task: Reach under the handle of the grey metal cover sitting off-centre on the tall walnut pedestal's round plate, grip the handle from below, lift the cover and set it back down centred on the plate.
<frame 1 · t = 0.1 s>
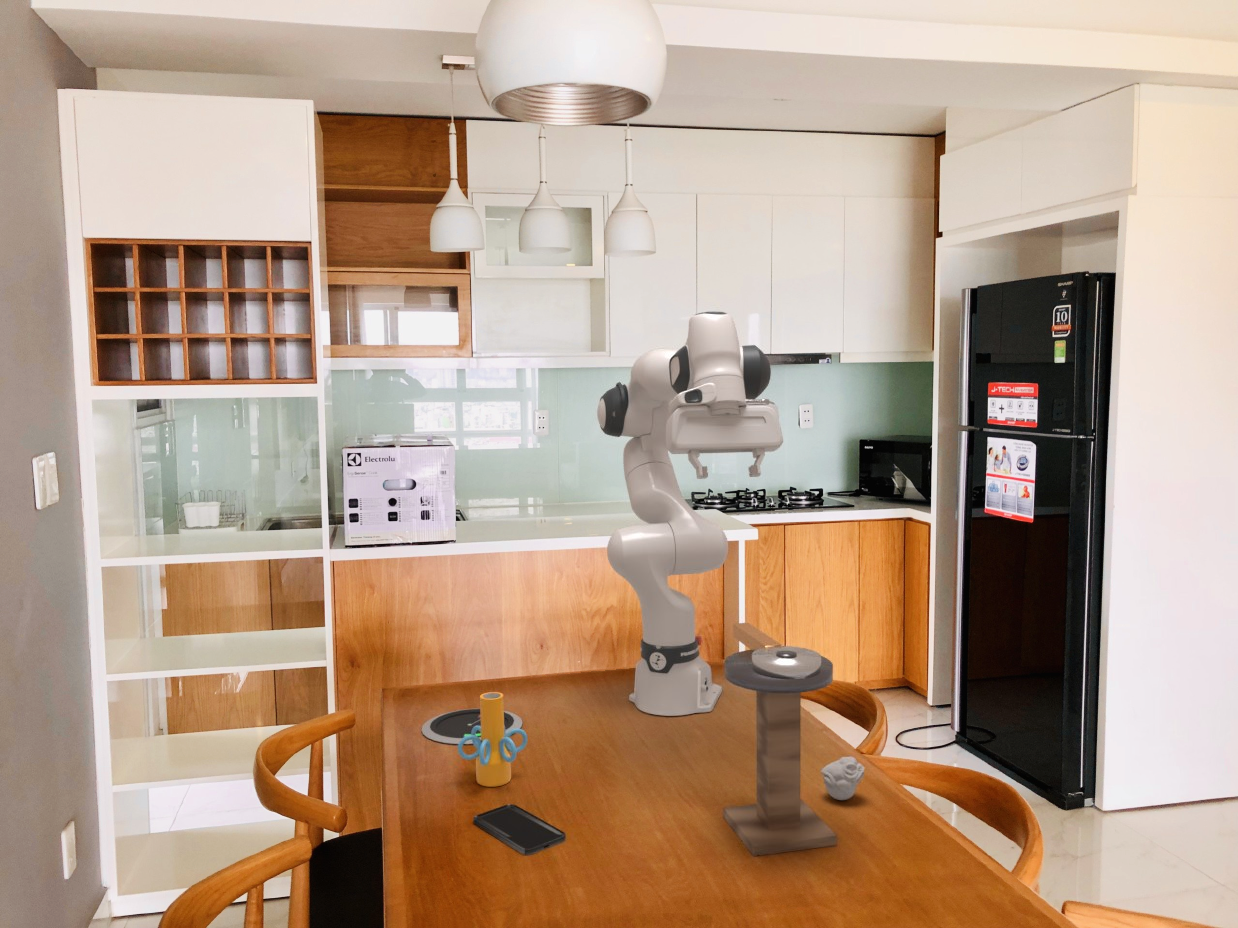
hand: (729, 477, 161), 52 cm above the table, tool tilted 20°, fingers open, 8 cm apart
frog figurine: (842, 799, 155), on the table
pedestal: (778, 830, 145), on the table
phone: (518, 833, 146), on the table
cover: (786, 668, 140), point 26 cm above the table, touching pedestal
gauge: (472, 728, 191), on the table
cylinder: (494, 781, 165), on the table
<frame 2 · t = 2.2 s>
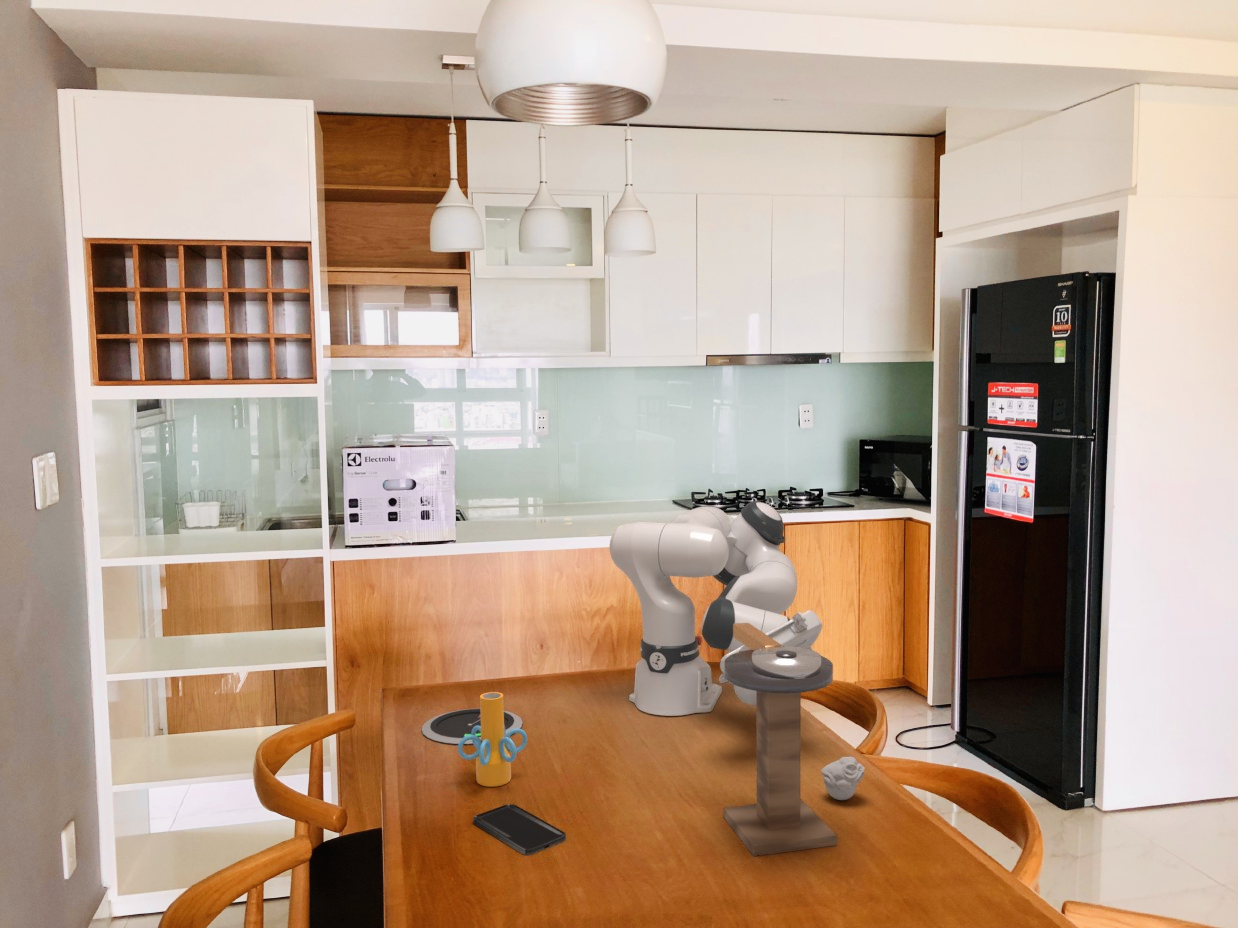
hand: (778, 628, 166), 25 cm above the table, tool pointing upward, fingers open, 8 cm apart
nothing on the table moved.
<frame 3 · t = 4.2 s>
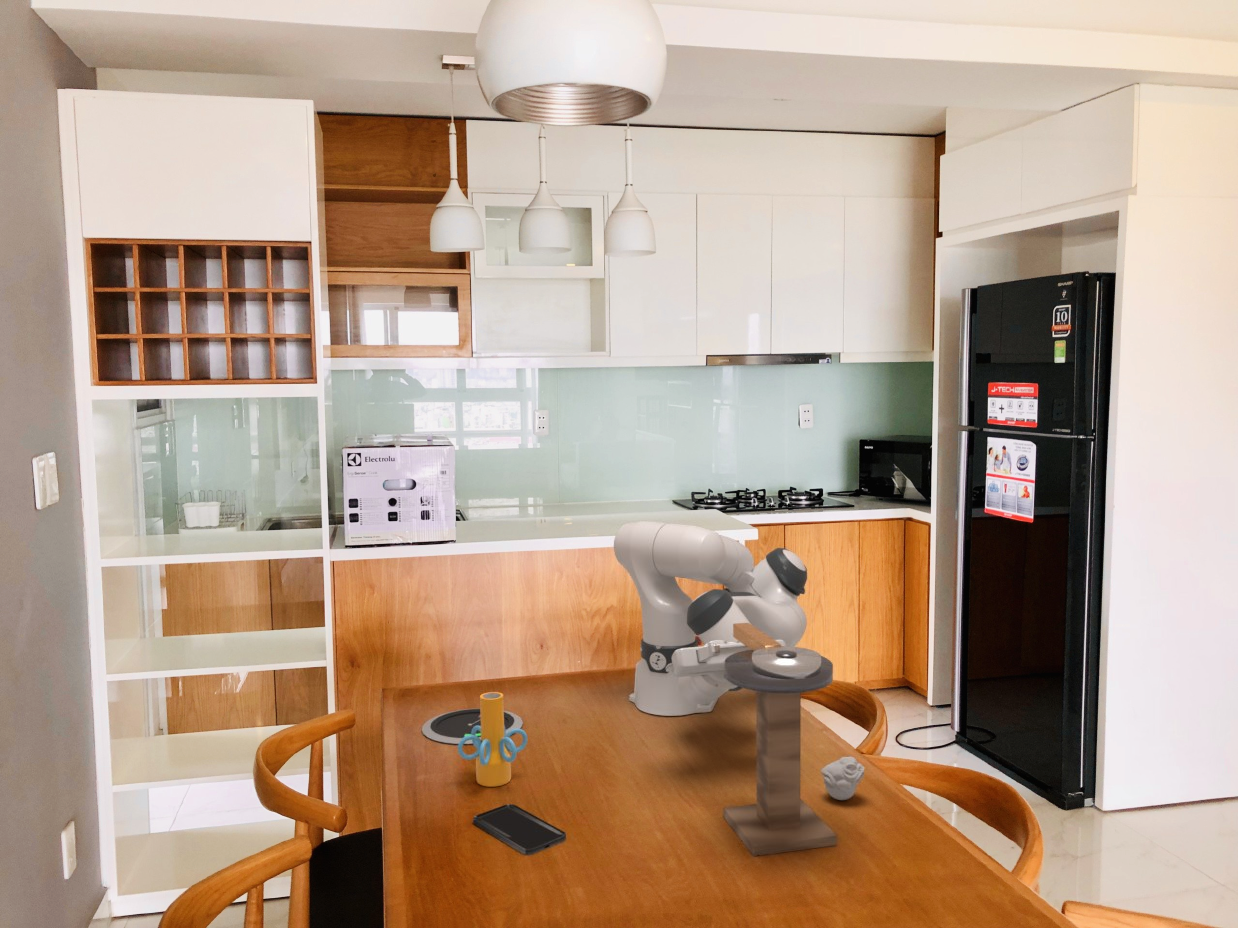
hand: (742, 646, 159), 24 cm above the table, tool pointing upward, fingers open, 8 cm apart
nothing on the table moved.
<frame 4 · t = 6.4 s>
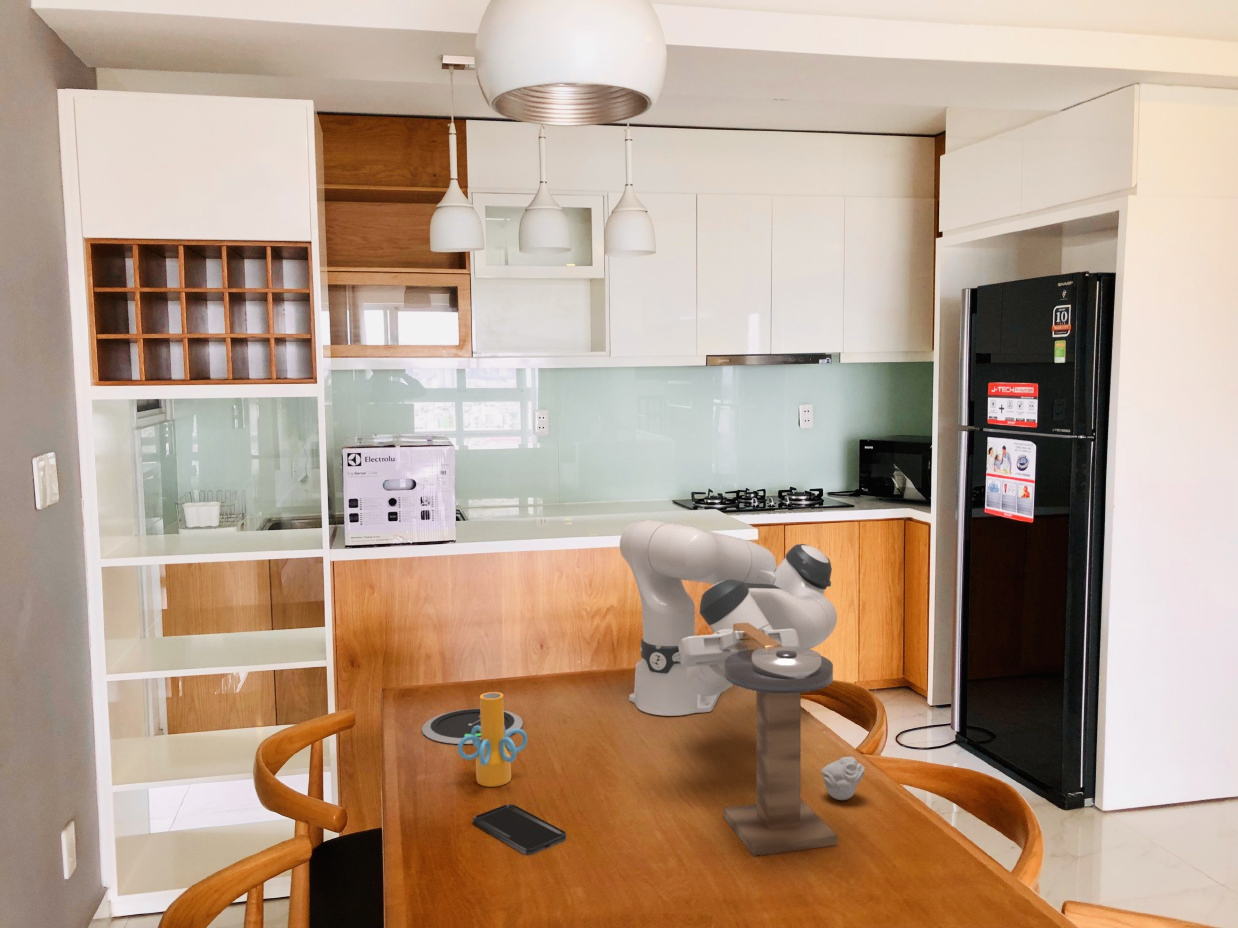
hand: (752, 634, 153), 28 cm above the table, tool pointing upward, fingers closed on cover, 3 cm apart
cover: (786, 668, 140), point 26 cm above the table, touching gripper, pedestal
everything else where it was.
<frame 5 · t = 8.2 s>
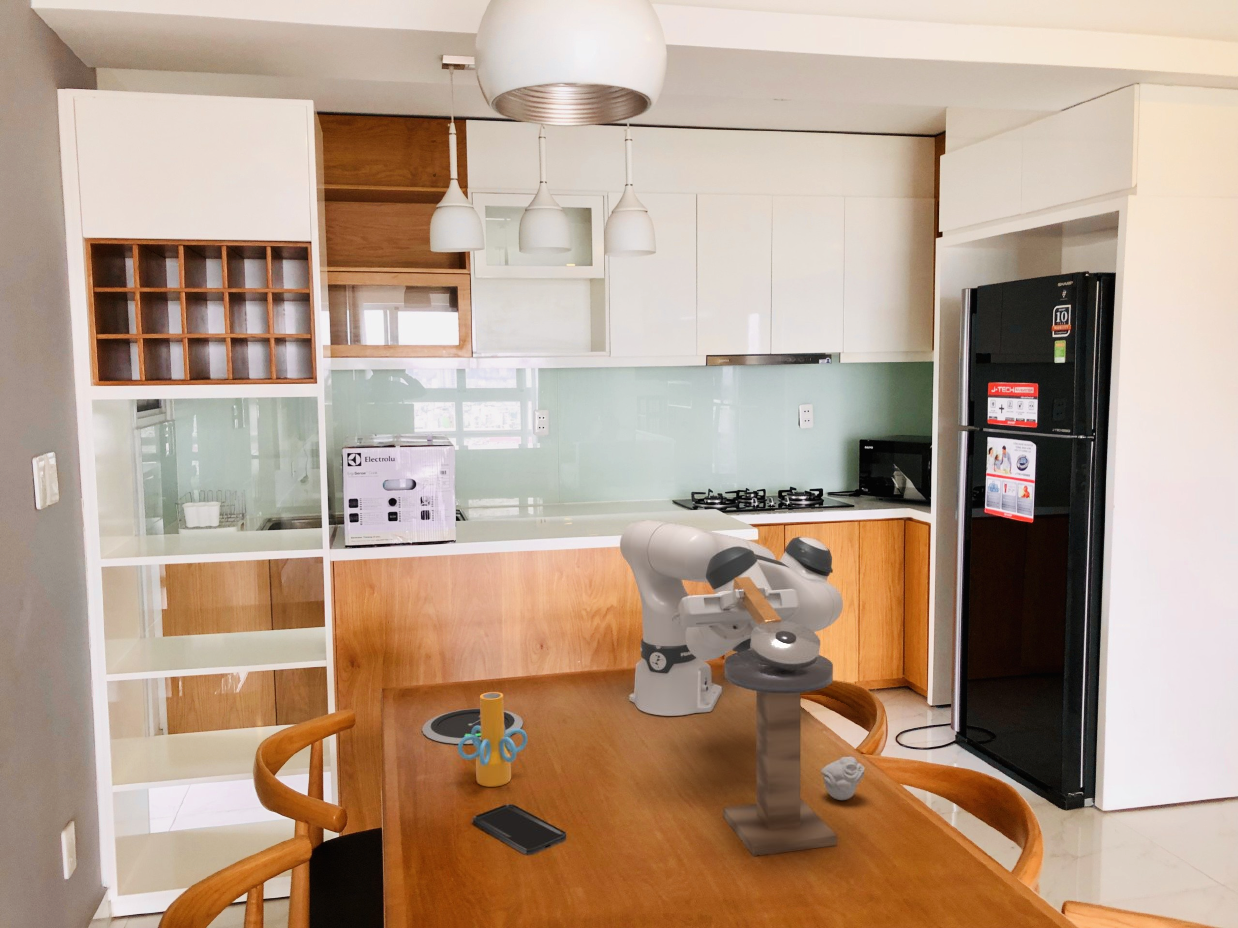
hand: (752, 592, 152), 34 cm above the table, tool pointing upward, fingers closed on cover, 3 cm apart
cover: (784, 649, 140), point 29 cm above the table, tilted 16°, touching gripper
everything else where it was.
when the fingers open (33 cm above the table, at t = 10.3 s): cover drops 1 cm, resting on pedestal.
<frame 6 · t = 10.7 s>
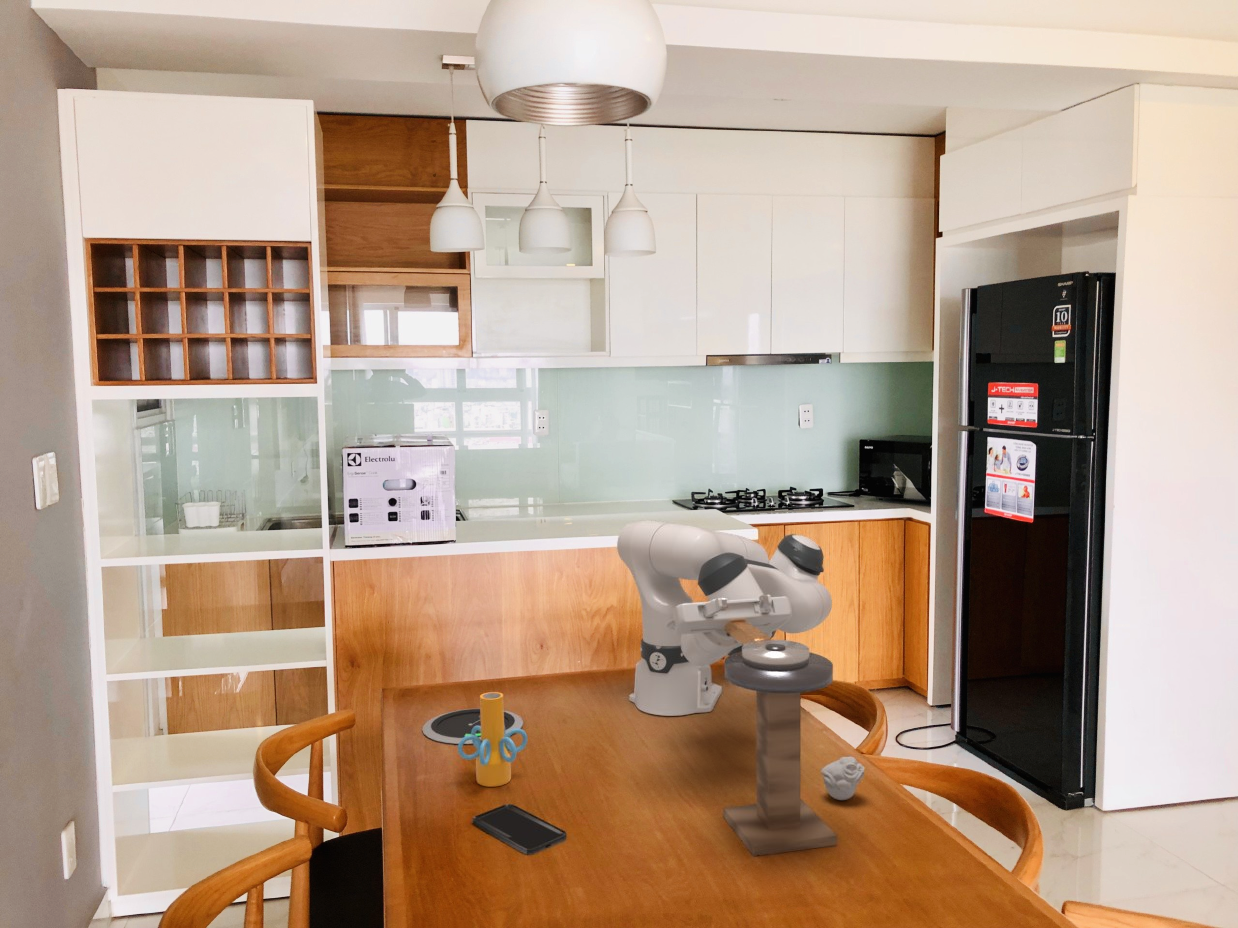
hand: (745, 600, 155), 32 cm above the table, tool pointing upward, fingers open, 6 cm apart
cover: (775, 661, 143), point 26 cm above the table, touching pedestal
everything else where it was.
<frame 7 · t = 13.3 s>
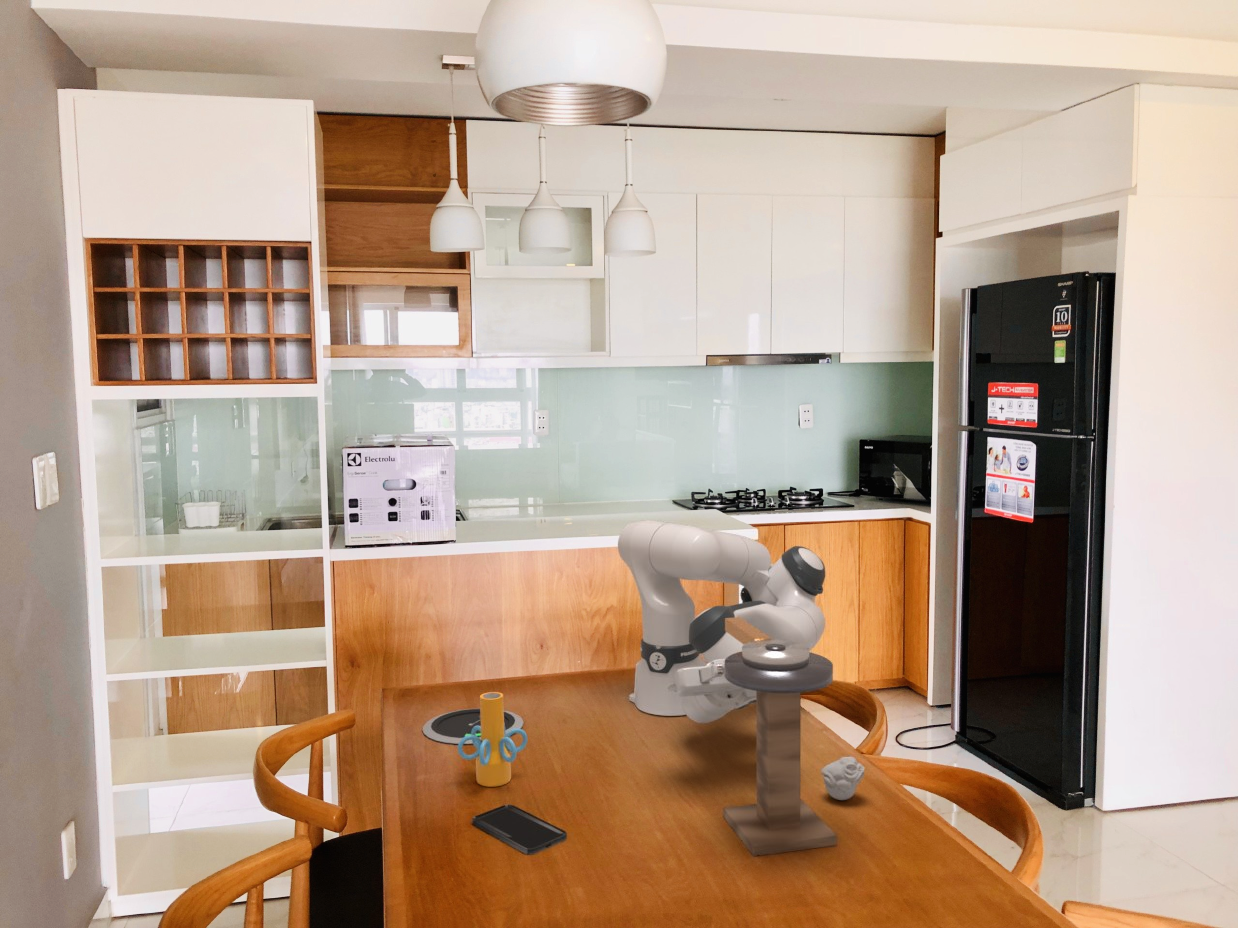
hand: (745, 666, 156), 21 cm above the table, tool pointing upward, fingers open, 8 cm apart
nothing on the table moved.
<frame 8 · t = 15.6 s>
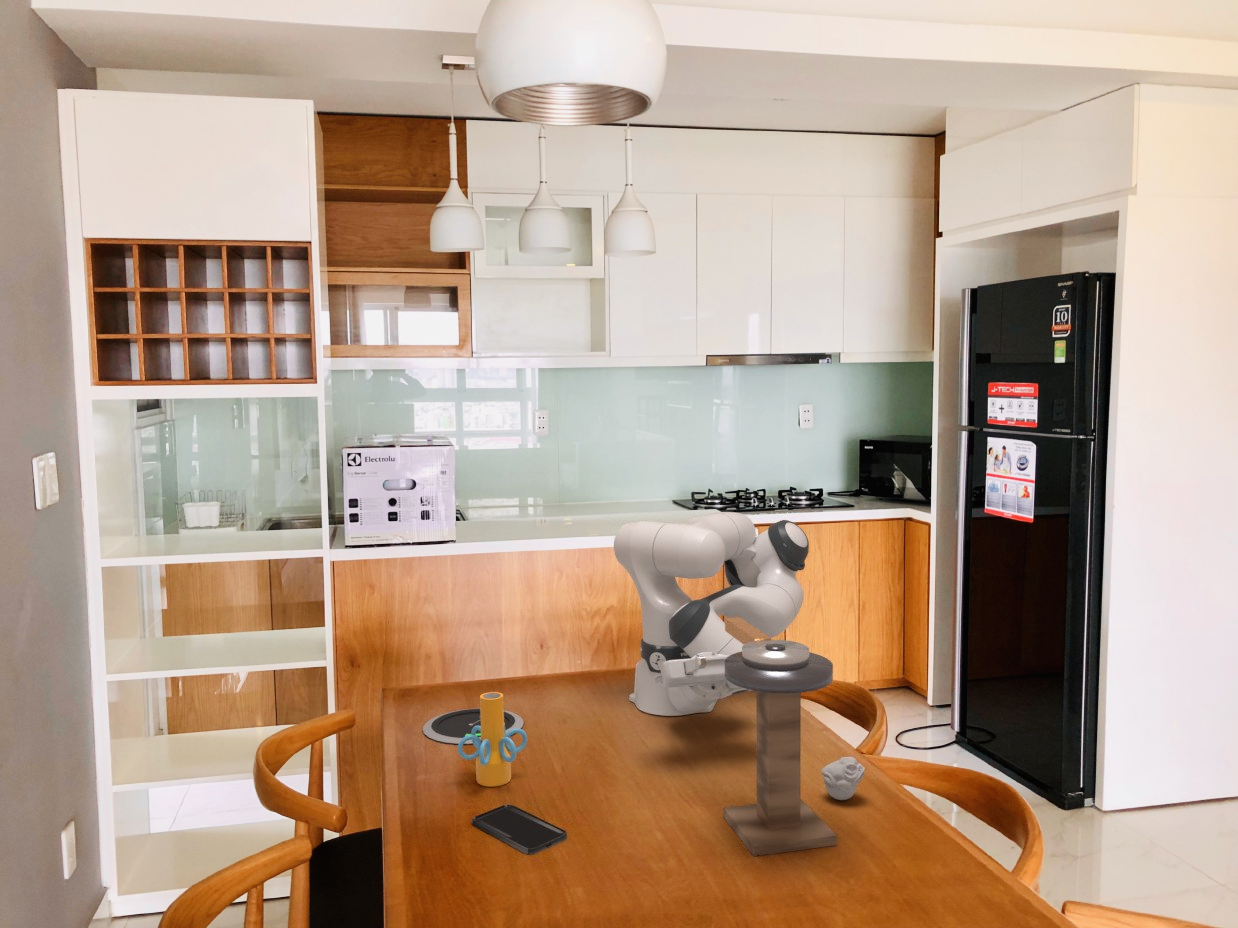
hand: (728, 658, 165), 20 cm above the table, tool pointing upward, fingers open, 8 cm apart
nothing on the table moved.
at the end: cover 0.9 cm from the pedestal (horizontally); cover 0.9 cm off-centre on the pedestal, point 26.0 cm above the pedestal's base; cover tilted 0° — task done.
